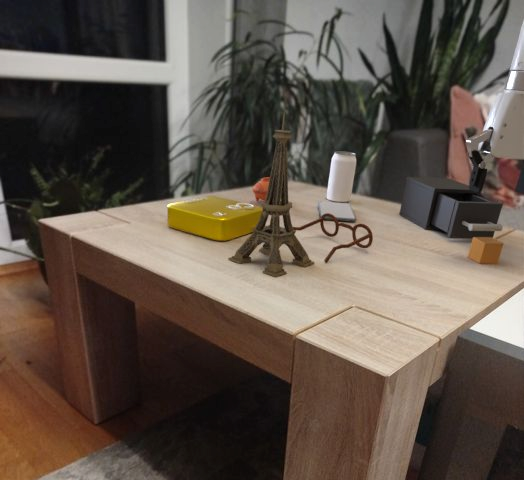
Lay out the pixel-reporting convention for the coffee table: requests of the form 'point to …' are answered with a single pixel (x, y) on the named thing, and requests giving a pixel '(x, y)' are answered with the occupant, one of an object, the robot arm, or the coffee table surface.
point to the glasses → (321, 220)
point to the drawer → (466, 215)
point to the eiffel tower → (275, 217)
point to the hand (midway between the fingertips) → (498, 191)
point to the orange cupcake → (261, 189)
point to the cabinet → (427, 198)
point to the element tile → (214, 217)
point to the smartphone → (337, 211)
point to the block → (485, 250)
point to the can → (341, 177)
